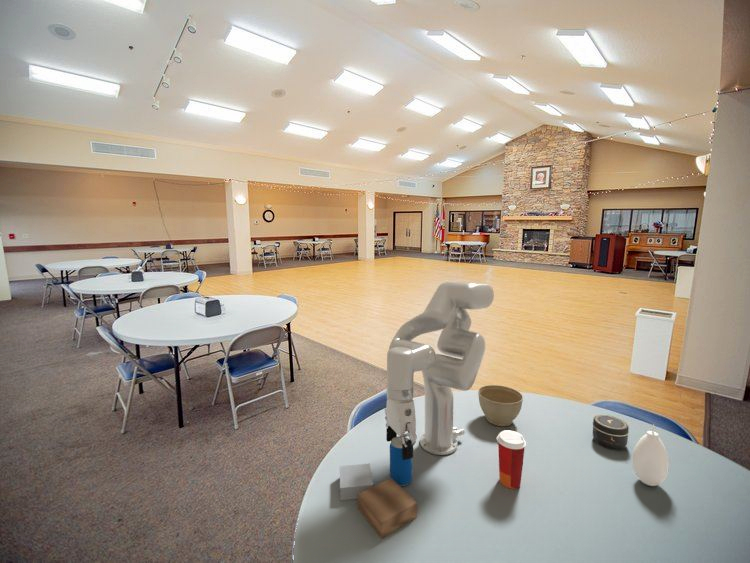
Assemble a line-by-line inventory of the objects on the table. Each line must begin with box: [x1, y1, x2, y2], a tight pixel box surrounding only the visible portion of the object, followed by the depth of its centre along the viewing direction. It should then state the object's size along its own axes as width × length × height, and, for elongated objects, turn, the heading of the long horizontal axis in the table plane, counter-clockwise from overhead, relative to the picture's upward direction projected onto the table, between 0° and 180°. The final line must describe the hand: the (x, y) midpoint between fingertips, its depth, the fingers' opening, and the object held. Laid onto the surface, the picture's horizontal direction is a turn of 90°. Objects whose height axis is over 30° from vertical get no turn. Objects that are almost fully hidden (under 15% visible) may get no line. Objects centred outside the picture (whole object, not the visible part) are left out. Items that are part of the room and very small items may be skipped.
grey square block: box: [339, 463, 374, 501], centre depth 97 cm, size 9×9×4 cm
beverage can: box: [389, 435, 413, 487], centre depth 99 cm, size 6×6×12 cm
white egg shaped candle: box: [631, 423, 670, 487], centre depth 96 cm, size 8×8×18 cm
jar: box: [592, 414, 630, 451], centre depth 116 cm, size 10×10×8 cm
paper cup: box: [496, 429, 527, 490], centre depth 97 cm, size 8×8×14 cm
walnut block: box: [356, 477, 418, 539], centre depth 88 cm, size 11×11×4 cm
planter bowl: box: [477, 384, 524, 427], centre depth 131 cm, size 16×16×11 cm
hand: (399, 448), depth 98 cm, fingers open, 9 cm apart
